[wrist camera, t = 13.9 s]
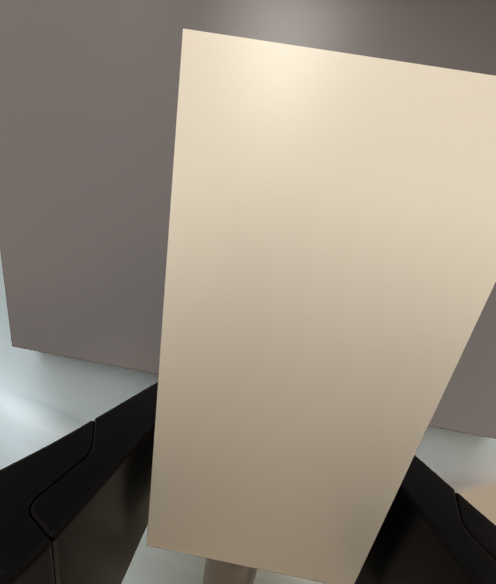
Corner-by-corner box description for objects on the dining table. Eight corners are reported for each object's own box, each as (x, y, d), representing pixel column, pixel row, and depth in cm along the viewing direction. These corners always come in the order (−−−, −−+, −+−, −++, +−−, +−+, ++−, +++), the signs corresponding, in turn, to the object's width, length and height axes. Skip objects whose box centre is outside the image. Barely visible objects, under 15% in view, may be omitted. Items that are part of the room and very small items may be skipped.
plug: (283, 519, 10) (294, 710, 6) (187, 499, 10) (137, 675, 6) (385, 175, 6) (584, 90, 2) (233, 150, 6) (182, 27, 2)
